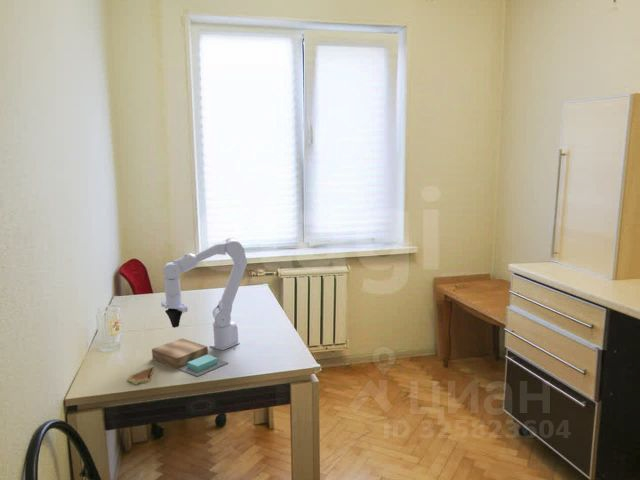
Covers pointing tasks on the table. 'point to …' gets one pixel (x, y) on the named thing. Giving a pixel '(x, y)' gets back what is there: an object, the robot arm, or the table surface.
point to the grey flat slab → (198, 373)
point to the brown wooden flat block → (179, 352)
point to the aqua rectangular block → (202, 362)
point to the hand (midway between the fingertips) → (175, 326)
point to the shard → (141, 376)
